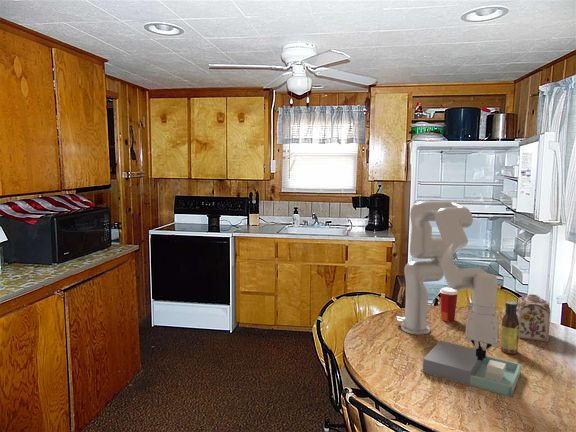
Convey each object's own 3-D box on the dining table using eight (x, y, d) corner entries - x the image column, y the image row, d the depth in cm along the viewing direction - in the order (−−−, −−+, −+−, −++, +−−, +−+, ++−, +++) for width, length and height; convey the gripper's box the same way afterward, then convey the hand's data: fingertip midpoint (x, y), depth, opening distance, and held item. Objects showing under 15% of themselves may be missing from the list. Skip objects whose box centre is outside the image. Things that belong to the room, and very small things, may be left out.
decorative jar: (548, 342, 179) (551, 301, 177) (517, 338, 183) (520, 297, 181) (543, 332, 190) (546, 293, 188) (514, 328, 194) (516, 290, 192)
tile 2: (501, 375, 144) (501, 382, 144) (504, 369, 148) (503, 376, 148) (485, 371, 147) (485, 378, 147) (488, 365, 151) (488, 372, 151)
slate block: (422, 372, 152) (423, 358, 152) (439, 352, 169) (440, 340, 168) (469, 385, 143) (470, 371, 143) (482, 363, 159) (483, 350, 159)
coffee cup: (457, 318, 207) (458, 288, 206) (456, 323, 200) (457, 292, 198) (439, 315, 211) (440, 286, 209) (437, 321, 203) (438, 290, 202)
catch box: (469, 385, 143) (470, 375, 143) (482, 363, 159) (483, 354, 159) (511, 397, 136) (511, 387, 135) (520, 373, 152) (521, 363, 152)
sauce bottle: (520, 355, 166) (523, 306, 164) (502, 354, 168) (505, 305, 165) (514, 348, 173) (517, 301, 170) (498, 347, 174) (501, 300, 172)
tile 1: (503, 369, 143) (502, 376, 143) (505, 363, 147) (505, 370, 147) (487, 364, 146) (486, 371, 146) (490, 359, 150) (489, 366, 150)
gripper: (458, 307, 149) (455, 357, 151) (505, 316, 140) (502, 369, 143) (463, 302, 155) (461, 350, 157) (509, 310, 146) (505, 360, 149)
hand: (480, 359), depth 150 cm, fingers closed
